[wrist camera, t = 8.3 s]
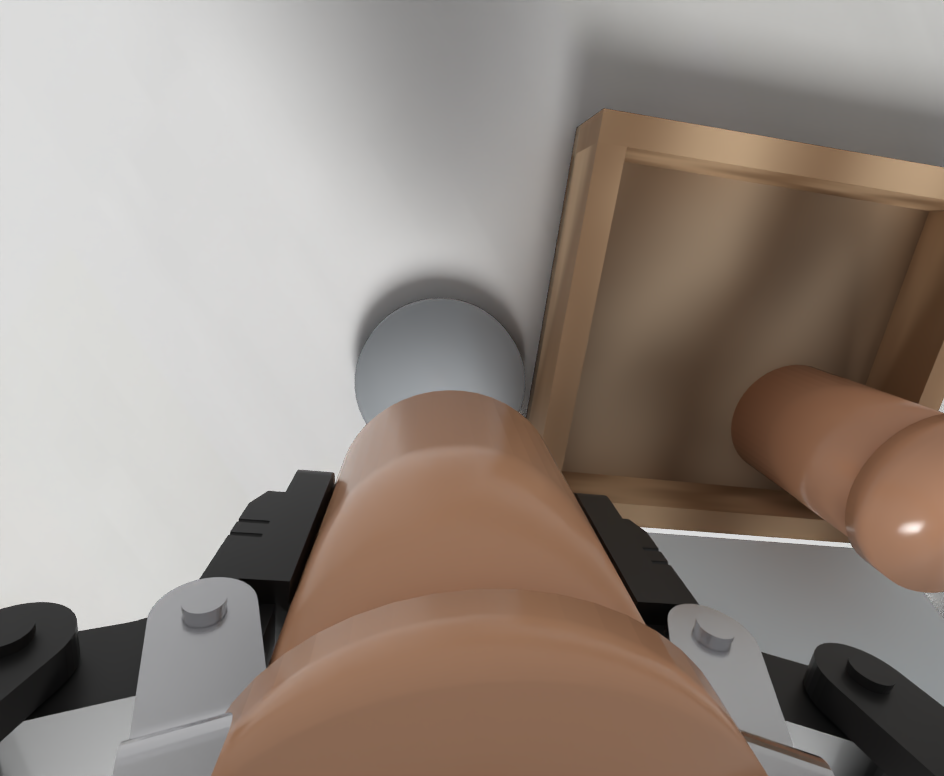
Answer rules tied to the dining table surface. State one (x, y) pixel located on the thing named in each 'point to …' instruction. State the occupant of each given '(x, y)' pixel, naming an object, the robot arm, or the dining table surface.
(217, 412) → the dining table surface
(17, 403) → the dining table surface
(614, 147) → the wooden tray
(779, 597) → the grey flat square panel
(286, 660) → the peach mushroom knob
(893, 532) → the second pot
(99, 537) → the dining table surface
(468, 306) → the grey domed disc
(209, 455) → the dining table surface
